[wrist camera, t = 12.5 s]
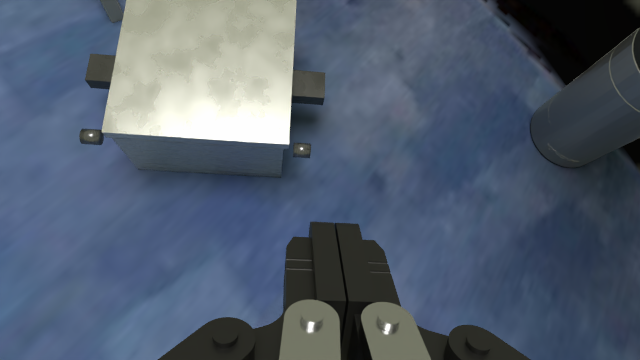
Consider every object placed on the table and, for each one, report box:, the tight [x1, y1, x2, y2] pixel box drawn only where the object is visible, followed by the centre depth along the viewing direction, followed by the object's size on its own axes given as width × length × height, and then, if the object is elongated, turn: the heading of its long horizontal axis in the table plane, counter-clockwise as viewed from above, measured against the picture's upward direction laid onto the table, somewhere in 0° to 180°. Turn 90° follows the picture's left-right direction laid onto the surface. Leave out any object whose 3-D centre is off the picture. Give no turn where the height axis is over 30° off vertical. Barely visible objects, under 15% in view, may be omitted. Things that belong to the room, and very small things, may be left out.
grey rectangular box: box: [80, 54, 325, 178], centre depth 49 cm, size 17×24×10 cm
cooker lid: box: [102, 0, 296, 149], centre depth 46 cm, size 20×17×1 cm
